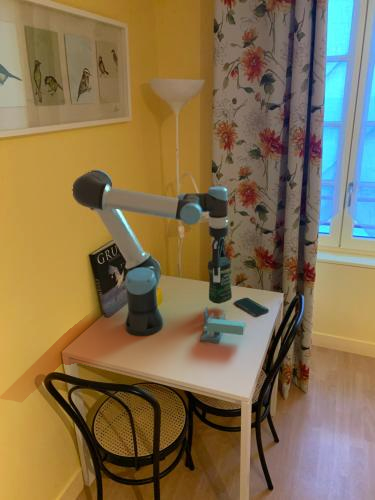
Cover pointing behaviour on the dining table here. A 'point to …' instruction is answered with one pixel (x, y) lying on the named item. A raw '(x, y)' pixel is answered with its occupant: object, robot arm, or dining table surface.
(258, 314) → the phone
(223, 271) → the coffee jar
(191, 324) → the dining table surface
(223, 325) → the cover
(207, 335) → the slotted block with rod
